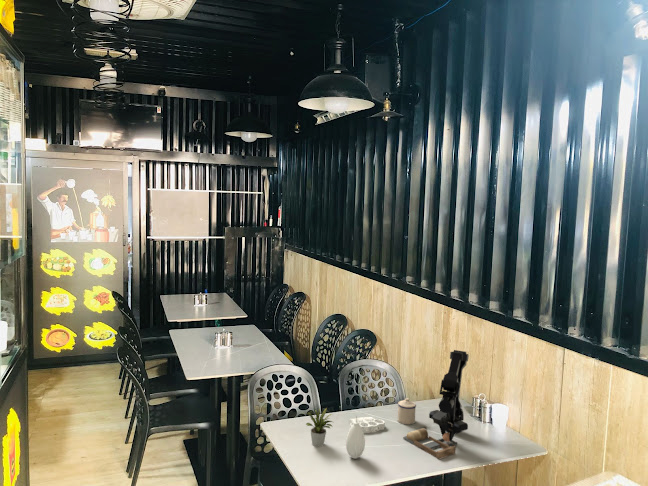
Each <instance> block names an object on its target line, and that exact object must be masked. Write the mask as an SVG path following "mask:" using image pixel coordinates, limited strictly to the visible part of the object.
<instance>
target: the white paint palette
mask: <svg viewBox="0 0 648 486" xmlns="http://www.w3.org/2000/svg"><path fill="white" fill-rule="evenodd" d="M353 422H356V417H355V418H349V419H348V423H349V429H350V428H351V426H352V425H353ZM357 422H359V423H360V424H359V425H360V426H361V428H362V430H363V433H364V434H369V433H376V432H378V431H381V430H382V431H383V430H384V429H385V424H386V422H385V420H383V419H380V418H374V417H372V416H363V417H357Z"/></svg>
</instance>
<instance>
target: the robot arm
mask: <svg viewBox="0 0 648 486" xmlns="http://www.w3.org/2000/svg"><path fill="white" fill-rule="evenodd" d="M469 357H470V356H469V353H467V351H463V350H456V349H454V350H453V351H450V353H449V359H450V364H449V367H448V370H447V371H448V372H447V373H445V374H444V376H443V378H442V379H441V383H440V389H439V395H442V398H441V399H440V401H439V403H438V409H434V410H431V411H429V413H428V418H429V419H431V420H433V421H432V422H433V424H436V425H438V426H439V430H440V434H441V438H443V434H444V433H449V439H450V441H451V440H453V439H454V437H455V435H456V434H458V433H461V432H464V431H467V430H468V429H469V425H468V423H467V422H465V421H464V416H465V414H464V411H463V408H462V407H463V406H462V404H461V403H462V402H460V396H461V395H460V393H461V386H462V385H461V384H462V376H463V375H462V374H463V369H465V367H466V366H467V362H468V361H469ZM450 441H449V442H450Z"/></svg>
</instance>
